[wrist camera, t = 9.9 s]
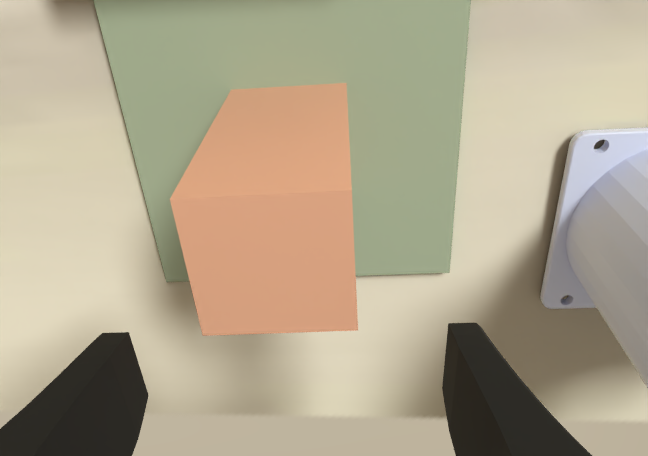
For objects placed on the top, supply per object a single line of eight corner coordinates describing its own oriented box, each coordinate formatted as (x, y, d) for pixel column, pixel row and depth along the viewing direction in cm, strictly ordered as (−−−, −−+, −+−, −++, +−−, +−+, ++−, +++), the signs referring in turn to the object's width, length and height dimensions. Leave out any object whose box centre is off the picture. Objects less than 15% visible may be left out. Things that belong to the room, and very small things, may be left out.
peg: (346, 82, 18) (352, 190, 12) (351, 187, 21) (357, 330, 14) (231, 89, 19) (169, 199, 12) (247, 192, 21) (202, 335, 14)
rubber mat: (472, -51, 17) (474, -49, 16) (447, 267, 23) (449, 272, 23) (91, -27, 17) (86, -26, 17) (169, 276, 23) (166, 282, 23)
